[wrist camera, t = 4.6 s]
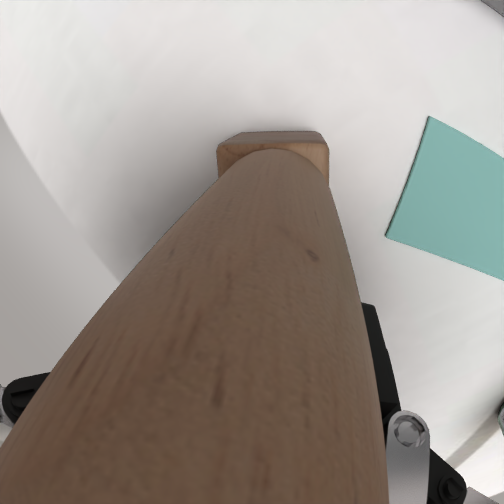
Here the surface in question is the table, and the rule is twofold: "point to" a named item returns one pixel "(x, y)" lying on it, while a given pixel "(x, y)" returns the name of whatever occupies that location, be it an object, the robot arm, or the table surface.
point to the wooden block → (219, 358)
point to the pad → (454, 201)
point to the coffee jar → (501, 418)
